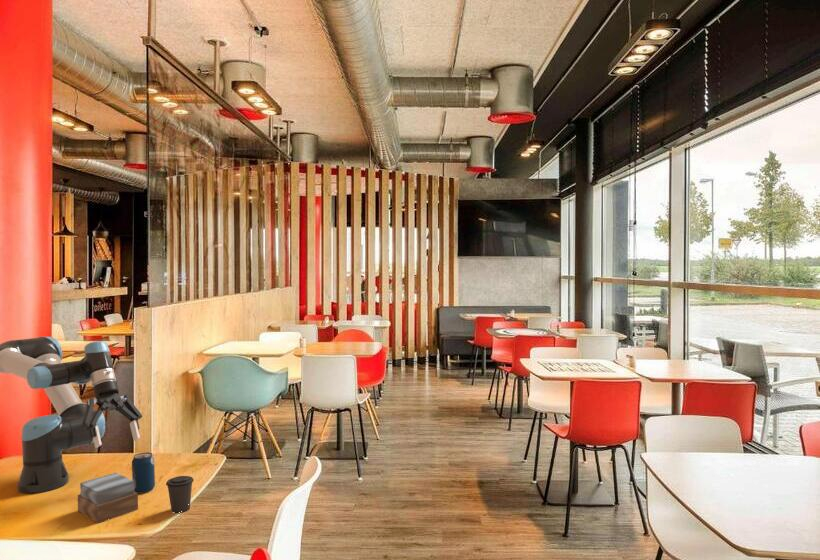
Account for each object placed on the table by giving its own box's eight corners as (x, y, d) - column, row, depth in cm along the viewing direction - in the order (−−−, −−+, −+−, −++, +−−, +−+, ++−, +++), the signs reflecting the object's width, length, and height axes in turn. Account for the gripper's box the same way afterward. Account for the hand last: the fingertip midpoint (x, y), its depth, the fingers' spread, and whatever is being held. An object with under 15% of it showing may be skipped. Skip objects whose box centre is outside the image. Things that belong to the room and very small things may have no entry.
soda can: (159, 486, 203) (158, 452, 202) (146, 494, 196) (145, 459, 195) (141, 485, 204) (140, 451, 203) (128, 493, 197) (127, 458, 197)
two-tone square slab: (78, 511, 183) (77, 482, 183) (117, 498, 193) (116, 471, 193) (98, 523, 175) (97, 493, 174) (138, 509, 184) (137, 481, 184)
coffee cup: (185, 516, 179) (184, 483, 178) (161, 514, 180) (160, 482, 180) (199, 505, 187) (198, 474, 186) (176, 503, 188) (175, 472, 188)
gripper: (73, 382, 192) (87, 445, 186) (143, 377, 213) (157, 433, 207) (62, 391, 195) (75, 453, 189) (132, 385, 216) (145, 440, 210)
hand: (118, 443), depth 198 cm, fingers open, 13 cm apart
